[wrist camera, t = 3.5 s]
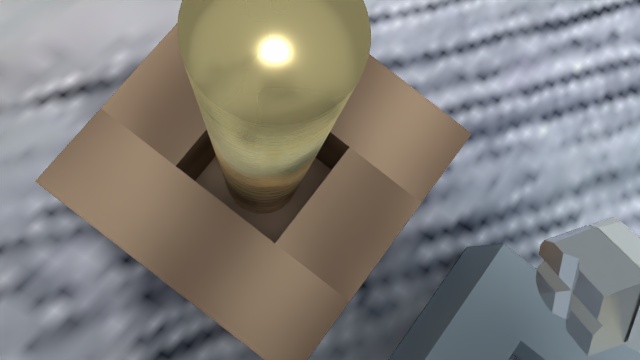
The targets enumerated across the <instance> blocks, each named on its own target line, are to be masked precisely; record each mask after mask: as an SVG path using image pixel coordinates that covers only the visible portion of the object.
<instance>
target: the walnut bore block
mask: <svg viewBox="0 0 640 360" xmlns="http://www.w3.org/2000/svg"><path fill="white" fill-rule="evenodd" d="M177 24H178V23H177ZM177 24H176V25H175V26H174V27H173V28H172V30H171V31H170V32H169V33H168V34H167V35H166V36H165V37H164V38H163V40H162V41H161V42H160V43H159V44H158V45H157V46H156V47H155V48H154V50H153V51H152V52H151V53H150V54H149V55H148V56H147V57H146V59H145V60H144V61H143V62H142V63H141V64H140V65H139V66H138V67H137V69H136V70H135V71H134V72H133V73H132V74H131V75H130V76H129V77H128V79H127V80H126V81H125V82H124V83H123V84H122V85H121V86H120V87H119V89H118V90H117V91H116V92H115V93H114V94H113V95H112V96H111V97H110V99H109V100H108V101H107V102H106V103H105V104H104V105H103V106H102V108H101V109H100V110H99V111H98V112H97V113H96V114H95V115H94V116H93V118H92V119H91V120H90V121H89V122H88V123H87V124H86V125H85V126H84V128H83V129H82V130H81V131H80V132H79V133H78V134H77V135H76V136H75V138H74V139H73V140H72V141H71V142H70V143H69V144H68V145H67V146H66V148H65V149H64V150H63V151H62V152H61V153H60V154H59V155H58V156H57V158H56V159H55V160H54V161H53V162H52V163H51V164H50V165H49V167H48V168H47V169H46V170H45V171H44V172H43V173H42V174H41V175H40V177H39V178H38V179H37V180H36V181H35V182H37V183H38V184H39V185H40V186H42V187H43V188H44V189H46V190H47V191H48V192H49V193H51V194H52V195H53V196H55V197H56V198H57V199H58V200H60V201H61V202H62V203H64V204H65V205H66V206H67V207H69V208H70V209H71V210H73V211H74V212H75V213H76V214H78V215H79V216H80V217H82V218H83V219H84V220H85V221H87V222H88V223H89V224H91V225H92V226H93V227H94V228H96V229H97V230H98V231H100V232H101V233H102V234H103V235H105V236H106V237H107V238H109V239H110V240H111V241H112V242H114V243H115V244H116V245H118V246H119V247H120V248H121V249H123V250H124V251H125V252H127V253H128V254H129V255H130V256H132V257H133V258H134V259H136V260H137V261H138V262H139V263H141V264H142V265H143V266H145V267H146V268H147V269H148V270H150V271H151V272H152V273H154V274H155V275H156V276H157V277H159V278H160V279H161V280H163V281H164V282H165V283H166V284H168V285H169V286H170V287H172V288H173V289H174V290H175V291H177V292H178V293H179V294H181V295H182V296H183V297H184V298H186V299H187V300H188V301H190V302H191V303H192V304H193V305H195V306H196V307H197V308H199V309H200V310H201V311H202V312H204V313H205V314H206V315H208V316H209V317H210V318H211V319H213V320H214V321H215V322H217V323H218V324H219V325H220V326H222V327H223V328H224V329H226V330H227V331H228V332H229V333H231V334H232V335H233V336H235V337H236V338H237V339H238V340H240V341H241V342H242V343H244V344H245V345H246V346H247V347H249V348H250V349H251V350H253V351H254V352H255V353H256V354H258V355H259V356H260V357H262V358H263V359H264V360H307V359H308V358H309V357H310V355H311V354H312V352H313V351H314V350H315V348H316V347H317V346H318V344H319V343H320V341H321V340H322V339H323V337H324V336H325V335H326V333H327V332H328V330H329V329H330V328H331V326H332V325H333V324H334V322H335V321H336V319H337V318H338V317H339V315H340V314H341V313H342V311H343V310H344V308H345V307H346V306H347V304H348V303H349V302H350V300H351V299H352V297H353V296H354V295H355V293H356V292H357V291H358V289H359V288H360V286H361V285H362V284H363V282H364V281H365V280H366V278H367V277H368V275H369V274H370V273H371V271H372V270H373V269H374V267H375V266H376V264H377V263H378V262H379V260H380V259H381V258H382V256H383V255H384V253H385V252H386V251H387V249H388V248H389V247H390V245H391V244H392V242H393V241H394V240H395V238H396V237H397V236H398V234H399V233H400V231H401V230H402V229H403V227H404V226H405V225H406V223H407V222H408V220H409V219H410V218H411V216H412V215H413V214H414V212H415V211H416V209H417V208H418V207H419V205H420V204H421V203H422V201H423V200H424V199H425V197H426V196H427V194H428V193H429V192H430V190H431V189H432V188H433V186H434V185H435V183H436V182H437V181H438V179H439V178H440V177H441V175H442V174H443V172H444V171H445V170H446V168H447V167H448V166H449V164H450V163H451V161H452V160H453V159H454V157H455V156H456V155H457V153H458V152H459V150H460V149H461V148H462V146H463V145H464V144H465V142H466V141H467V139H468V138H469V137H470V135H471V133H470V132H469V131H467V130H466V129H465V128H464V127H462V126H461V125H460V124H458V123H457V122H456V121H455V120H453V119H452V118H451V117H449V116H448V115H447V114H446V113H444V112H443V111H442V110H440V109H439V108H438V107H437V106H435V105H434V104H433V103H431V102H430V101H429V100H428V99H426V98H425V97H424V96H422V95H421V94H420V93H419V92H417V91H416V90H415V89H413V88H412V87H411V86H410V85H408V84H407V83H406V82H404V81H403V80H402V79H401V78H399V77H398V76H397V75H395V74H394V73H393V72H392V71H390V70H389V69H388V68H386V67H385V66H384V65H383V64H381V63H380V62H379V61H377V60H376V59H375V58H374V57H372V56H371V55H370V54H369V57H368V60H367V63H366V66H365V69H364V71H363V73H362V75H361V77H360V79H359V81H358V83H357V85H356V87H355V88H354V90H353V92H352V94H351V95H350V97H349V99H348V101H347V103H346V104H345V106H344V108H343V110H342V111H341V113H340V115H339V117H338V118H337V120H336V122H335V124H334V125H333V127H332V129H331V131H330V133H329V134H328V136H327V138H326V140H325V141H324V143H323V145H322V147H321V148H320V150H319V152H318V154H317V155H316V157H315V159H314V161H313V163H312V164H311V166H310V168H309V170H308V171H307V173H306V175H305V177H304V178H303V180H302V182H301V184H300V186H299V187H298V189H297V191H296V193H295V194H294V196H293V198H292V199H291V200H290V201H289V203H288V204H286V205H285V206H284V207H283V208H281V209H279V210H277V211H275V212H271V213H265V214H260V213H253V212H250V211H247V210H245V209H244V208H242V207H241V206H239V205H238V204H237V203H236V202H235V201H234V200H233V198H232V197H231V195H230V193H229V191H228V188H227V185H226V183H225V180H224V177H223V174H222V171H221V168H220V165H219V163H218V160H217V157H216V154H215V151H214V148H213V146H212V143H211V140H210V137H209V134H208V131H207V128H206V126H205V123H204V120H203V117H202V114H201V111H200V108H199V106H198V103H197V100H196V97H195V94H194V91H193V88H192V86H191V83H190V80H189V77H188V74H187V71H186V69H185V66H184V63H183V60H182V57H181V53H180V50H179V44H178V36H177Z"/></svg>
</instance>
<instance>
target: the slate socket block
mask: <svg viewBox="0 0 640 360" xmlns="http://www.w3.org/2000/svg"><path fill="white" fill-rule="evenodd" d="M536 271H537V269H536V268H534V267H533V266H532V265H530V264H529V263H528V262H527V261H525V260H524V259H523V258H521V257H520V256H519V255H518V254H516V253H515V252H514V251H512V250H511V249H510V248H509V247H507V246H506V245H505V244H496V245H484V246H472V247H467V248H466V249H465V251H464V252H463V254H462V255H461V257H460V258H459V259H458V261H457V262H456V264H455V265H454V267H453V268H452V269H451V271H450V272H449V274H448V275H447V277H446V278H445V280H444V281H443V282H442V284H441V285H440V287H439V288H438V290H437V291H436V292H435V294H434V295H433V297H432V298H431V300H430V301H429V303H428V304H427V305H426V307H425V308H424V310H423V311H422V313H421V314H420V316H419V317H418V318H417V320H416V321H415V323H414V324H413V326H412V327H411V328H410V330H409V331H408V333H407V334H406V336H405V337H404V339H403V340H402V341H401V343H400V344H399V346H398V347H397V349H396V350H395V351H394V353H393V354H392V356H391V357H390V359H389V360H509V358H510V356H511V355H512V354H513V355H515V356H516V357H517V358H519V359H520V360H640V353H639V352H637V351H635V350H633V349H631V348H630V347H628V346H626V344H627V343H625V344H622V345H619V346H617V347H614V348H611V349H608V350H605V351H602V352H599V353H596V354H593V355H590V356H587V355H586V354H585V353H584V351H583V350H582V349H581V348H580V347H579V345H578V344H577V343H576V342H575V341H574V339H573V338H572V337H571V336H570V334H569V333H568V332H567V331H566V319H565V318H563V317H560V316H558V315H556V314H554V313H552V312H551V311H550V310H549V308H548V307H547V306H546V305H545V303H544V302H543V300H542V298H541V296H540V294H539V291H538V288H537V284H536Z"/></svg>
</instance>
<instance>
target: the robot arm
mask: <svg viewBox="0 0 640 360" xmlns="http://www.w3.org/2000/svg"><path fill="white" fill-rule="evenodd" d="M539 255H540V256H541V257H542V258H543V259H544V261H543V262H542V263H541V265H540V266H539V267H538V268H537V271H536V284H537V288H538V291H539V294H540V296H541V298H542V300H543V302H544V303H545V305H546V306H547V307H548V308H549V310H550V311H551V312H552V313H554V314H556V315H558V316H560V317H563V318H565V319H566V331H567V332H568V333H569V334H570V336H571V337H572V338H573V339H574V341H575V342H576V343H577V344H578V345H579V347H580V348H581V349H582V350H583V351H584V353H585V354H586V355H587V356H590V355H593V354H596V353H599V352H602V351H605V350H608V349H611V348H614V347H617V346H619V345H622V344H625V343H627V344H626V346H628V347H630V348H631V349H633V350H635V351H637V352H639V353H640V238H639V237H638V236H637V235H636V234H635V233H633V232H632V231H631V230H630V229H629V228H628V227H627V226H625V225H624V224H623V223H622V222H621V221H619V220H617V219H615V218H609V219H606V220H603V221H600V222H597V223H595V224H592V225H589V226H584V227H581V228H578V229H575V230H572V231H569V232H567V233H564V234H561V235H558V236H555V237H552V238H549V239H547V240H544V242H543V243H542V244H541V246H540V251H539Z"/></svg>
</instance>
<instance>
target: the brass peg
mask: <svg viewBox="0 0 640 360" xmlns="http://www.w3.org/2000/svg"><path fill="white" fill-rule="evenodd" d="M177 36H178V44H179V50H180V53H181V57H182V60H183V63H184V66H185V69H186V71H187V74H188V77H189V80H190V83H191V86H192V88H193V91H194V94H195V97H196V100H197V103H198V106H199V108H200V111H201V114H202V117H203V120H204V123H205V126H206V128H207V131H208V134H209V137H210V140H211V143H212V146H213V148H214V151H215V154H216V157H217V160H218V163H219V165H220V168H221V171H222V174H223V177H224V180H225V183H226V185H227V188H228V191H229V193H230V195H231V197H232V198H233V200H234V201H235V202H236V203H237V204H238V205H239V206H241V207H242V208H244V209H245V210H247V211H250V212H253V213H260V214H265V213H271V212H275V211H277V210H279V209H281V208H283V207H284V206H285V205H286V204H288V203H289V201H290V200H291V199H292V198H293V196H294V194H295V193H296V191H297V189H298V187H299V186H300V184H301V182H302V180H303V178H304V177H305V175H306V173H307V171H308V170H309V168H310V166H311V164H312V163H313V161H314V159H315V157H316V155H317V154H318V152H319V150H320V148H321V147H322V145H323V143H324V141H325V140H326V138H327V136H328V134H329V133H330V131H331V129H332V127H333V125H334V124H335V122H336V120H337V118H338V117H339V115H340V113H341V111H342V110H343V108H344V106H345V104H346V103H347V101H348V99H349V97H350V95H351V94H352V92H353V90H354V88H355V87H356V85H357V83H358V81H359V79H360V77H361V75H362V73H363V71H364V69H365V66H366V63H367V60H368V57H369V51H370V44H371V30H370V21H369V17H368V12H367V9H366V7H365V4H364V1H363V0H182V3H181V7H180V10H179V14H178V24H177Z"/></svg>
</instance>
